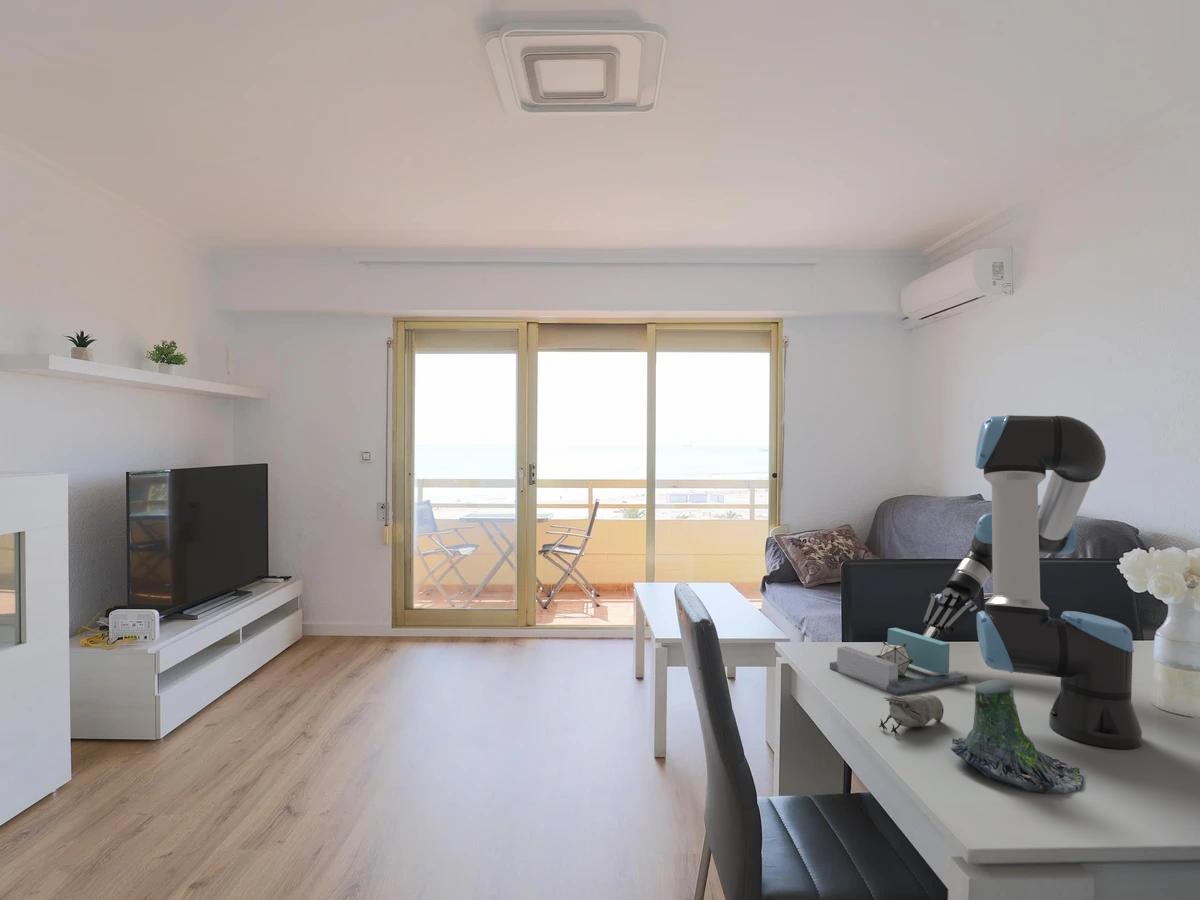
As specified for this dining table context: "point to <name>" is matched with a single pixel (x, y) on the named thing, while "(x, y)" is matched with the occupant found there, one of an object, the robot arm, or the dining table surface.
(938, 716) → the decorative bird
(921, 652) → the sliding jaw
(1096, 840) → the dining table surface
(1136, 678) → the dining table surface
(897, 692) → the vise base
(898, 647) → the game die
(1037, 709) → the dining table surface
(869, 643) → the dining table surface
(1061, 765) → the tree stump
